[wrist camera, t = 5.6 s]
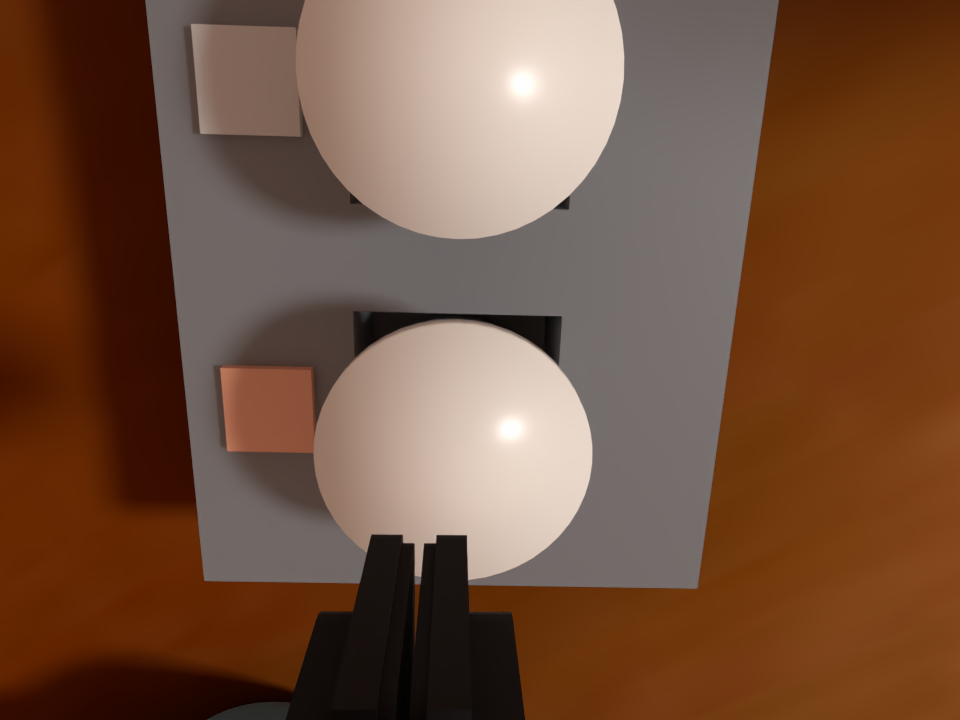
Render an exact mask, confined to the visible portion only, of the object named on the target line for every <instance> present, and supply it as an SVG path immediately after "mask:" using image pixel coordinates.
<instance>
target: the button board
mask: <svg viewBox="0 0 960 720" xmlns="http://www.w3.org/2000/svg"><path fill="white" fill-rule="evenodd" d="M145 2H146V12H147V21H148V31H149V41H150V51H151V61H152V71H153V80H154V90H155V100H156V110H157V120H158V130H159V139H160V149H161V159H162V169H163V179H164V189H165V198H166V208H167V218H168V228H169V238H170V248H171V257H172V267H173V277H174V287H175V297H176V307H177V316H178V326H179V336H180V346H181V356H182V366H183V375H184V385H185V395H186V405H187V415H188V425H189V434H190V444H191V454H192V464H193V474H194V484H195V493H196V503H197V513H198V523H199V533H200V543H201V552H202V562H203V572H204V581H246V582H311V583H360V580H361V576H362V572H363V567H364V563H365V559H366V555H367V553H366V552H365V551H364V550H363V549H361V548H360V547H359V546H357V545H356V544H355V543H354V542H353V541H352V540H351V539H350V538H349V537H348V536H347V535H346V534H345V533H344V531H343V530H342V529H341V528H340V526H339V525H338V524H337V522H336V521H335V520H334V518H333V516H332V515H331V513H330V511H329V510H328V508H327V506H326V504H325V502H324V499H323V497H322V494H321V492H320V489H319V486H318V482H317V478H316V474H315V466H314V437H315V431H316V426H317V422H318V419H319V415H320V412H321V409H322V407H323V405H324V403H325V401H326V399H327V396H328V394H329V392H330V391H331V389H332V387H333V386H334V384H335V383H336V381H337V380H338V378H339V377H340V375H341V374H342V372H343V371H344V369H345V368H346V367H347V366H348V365H349V364H350V363H351V362H352V361H353V360H354V358H355V357H356V356H357V355H359V354H360V353H361V352H362V351H363V350H365V349H366V348H367V347H368V346H369V345H371V344H373V343H374V342H376V341H377V340H379V339H381V338H382V337H384V336H385V335H388V334H390V333H392V332H394V331H396V330H399V329H401V328H404V327H407V326H410V325H413V324H417V323H420V322H426V321H428V320H432V319H435V318H438V317H444V316H454V315H461V316H470V317H475V318H479V319H482V320H485V321H488V322H490V323H492V324H494V325H496V326H499V327H502V328H505V329H507V330H510V331H512V332H514V333H516V334H518V335H520V336H522V337H524V338H526V339H528V340H529V341H530V342H532V343H533V344H535V345H536V346H538V347H539V348H541V349H542V350H543V351H544V352H545V353H546V354H547V355H548V356H550V357H551V358H552V359H553V360H554V361H555V362H556V363H557V365H558V366H559V367H560V368H561V369H562V371H563V372H564V373H565V374H566V376H567V377H568V379H569V380H570V382H571V384H572V385H573V387H574V388H575V390H576V393H577V395H578V397H579V399H580V402H581V404H582V406H583V408H584V411H585V413H586V416H587V420H588V423H589V427H590V432H591V439H592V467H591V474H590V480H589V483H588V487H587V490H586V493H585V496H584V498H583V500H582V503H581V505H580V507H579V509H578V511H577V513H576V514H575V516H574V517H573V519H572V520H571V522H570V524H569V525H568V526H567V527H566V529H565V530H564V531H563V532H562V533H561V535H560V536H559V537H558V538H557V539H556V540H555V541H554V542H553V543H551V544H550V545H549V546H548V547H547V548H546V549H545V550H543V551H542V552H540V553H539V554H538V555H536V556H535V557H534V558H532V559H530V560H528V561H527V562H525V563H523V564H521V565H519V566H517V567H515V568H512V569H510V570H508V571H505V572H503V573H499V574H496V575H492V576H488V577H484V578H478V579H472V580H468V585H504V586H569V587H633V588H697V587H698V580H699V573H700V565H701V558H702V551H703V544H704V537H705V529H706V522H707V515H708V508H709V500H710V493H711V486H712V479H713V472H714V464H715V457H716V450H717V443H718V435H719V428H720V421H721V414H722V407H723V399H724V392H725V385H726V378H727V371H728V363H729V356H730V349H731V342H732V334H733V327H734V320H735V313H736V306H737V298H738V291H739V284H740V277H741V270H742V262H743V255H744V248H745V241H746V233H747V226H748V219H749V212H750V205H751V197H752V190H753V183H754V176H755V169H756V161H757V154H758V147H759V140H760V132H761V125H762V118H763V111H764V104H765V96H766V89H767V82H768V75H769V68H770V60H771V53H772V46H773V39H774V31H775V24H776V17H777V10H778V3H779V0H614V3H615V6H616V9H617V13H618V17H619V21H620V26H621V30H622V38H623V48H624V81H623V88H622V95H621V102H620V105H619V109H618V113H617V117H616V120H615V124H614V126H613V129H612V131H611V134H610V136H609V139H608V141H607V144H606V146H605V147H604V149H603V151H602V153H601V155H600V156H599V158H598V160H597V162H596V164H595V165H594V166H593V168H592V169H591V170H590V172H589V173H588V175H587V176H586V177H585V179H584V180H583V181H582V182H581V183H580V184H579V186H578V187H577V188H576V189H575V190H574V191H573V192H572V193H571V194H570V195H569V196H568V197H567V198H566V199H564V200H563V201H562V202H561V203H560V204H558V205H557V206H556V207H555V208H554V209H552V210H551V211H549V212H548V213H546V214H544V215H543V216H541V217H540V218H538V219H537V220H535V221H533V222H531V223H528V224H526V225H524V226H522V227H520V228H518V229H515V230H512V231H509V232H505V233H502V234H499V235H494V236H489V237H483V238H476V239H450V238H439V237H434V236H429V235H425V234H421V233H417V232H414V231H411V230H409V229H406V228H403V227H401V226H398V225H396V224H394V223H392V222H390V221H389V220H387V219H385V218H383V217H381V216H379V215H378V214H377V213H375V212H374V211H372V210H371V209H369V208H368V207H367V206H365V205H364V204H362V203H361V202H360V201H359V200H358V199H357V198H356V197H355V196H354V195H353V194H351V193H350V192H349V191H348V190H347V189H346V188H345V187H344V185H343V184H342V183H341V182H340V181H339V180H338V178H337V177H336V176H335V175H334V174H333V172H332V171H331V169H330V168H329V166H328V165H327V163H326V162H325V160H324V159H323V157H322V156H321V154H320V152H319V150H318V148H317V146H316V144H315V142H314V140H313V138H312V136H311V134H310V131H309V128H308V126H307V123H306V120H305V117H304V114H303V110H302V106H301V102H300V97H299V93H298V86H297V76H296V41H297V34H298V27H299V21H300V17H301V13H302V10H303V6H304V2H305V0H145ZM415 584H421V577H418V576H415Z"/></svg>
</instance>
